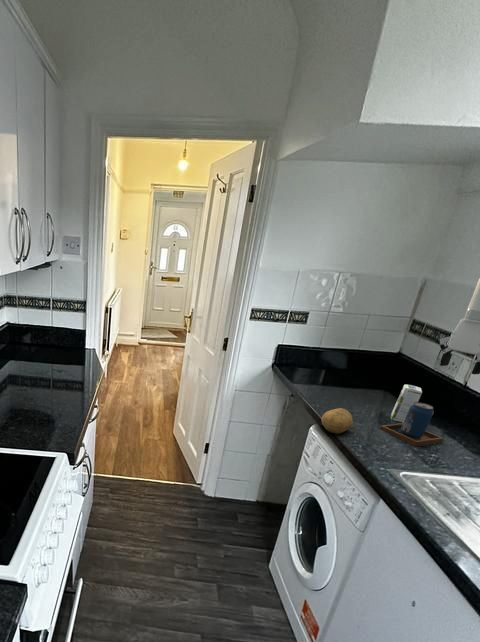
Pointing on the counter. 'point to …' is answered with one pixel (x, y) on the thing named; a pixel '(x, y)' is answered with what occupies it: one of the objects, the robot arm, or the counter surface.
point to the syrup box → (405, 402)
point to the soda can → (417, 420)
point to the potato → (337, 420)
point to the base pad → (424, 440)
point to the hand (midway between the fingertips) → (459, 369)
